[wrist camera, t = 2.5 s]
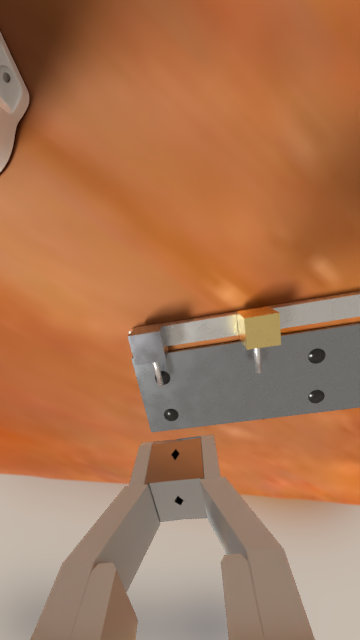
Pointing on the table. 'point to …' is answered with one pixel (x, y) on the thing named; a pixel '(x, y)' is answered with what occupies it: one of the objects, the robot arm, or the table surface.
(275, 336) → the sliding head
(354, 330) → the flange plate
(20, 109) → the robot arm
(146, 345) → the trammel beam
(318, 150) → the table surface
